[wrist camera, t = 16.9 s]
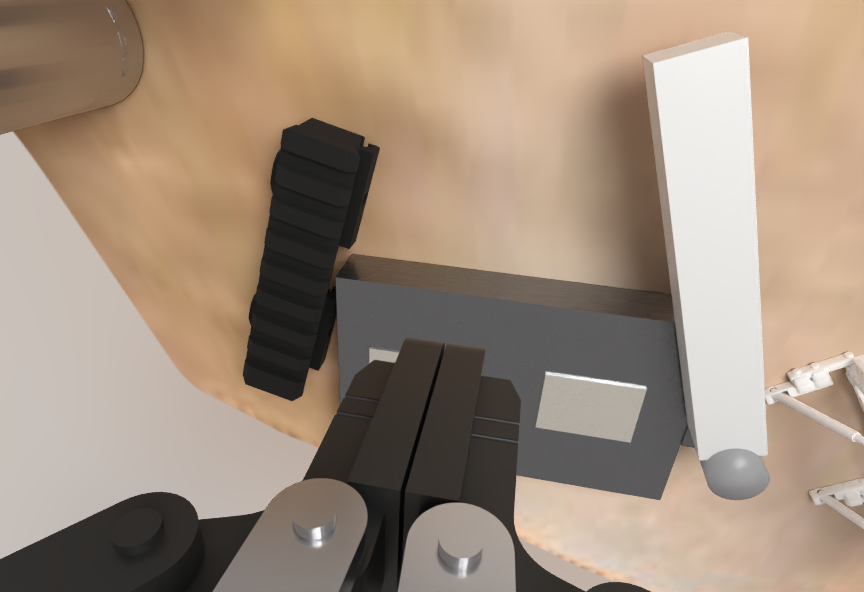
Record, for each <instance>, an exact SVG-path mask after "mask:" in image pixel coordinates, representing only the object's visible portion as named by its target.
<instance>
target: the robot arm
mask: <svg viewBox="0 0 864 592" xmlns="http://www.w3.org/2000/svg"><path fill="white" fill-rule="evenodd" d="M143 57H144V55H143V45H142V39H141V35H140V31H139V28H138V24H137V22H136V20H135V18H134V15H133V13H132V11H131V9H130V7H129V6H128V4H127V3H126V1H125V0H0V135H1V134H5V133H8V132H12V131H16V130H19V129H23V128H27V127H31V126H34V125H38V124H42V123H45V122H49V121H53V120H57V119H60V118H64V117H68V116H72V115H76V114H80V113H83V112H87V111H91V110H94V109H98V108H102V107H105V106H109V105H113V104H115V103H117V102H120V101H122V100H124V99H125V98H126V97H127V96H128V95H130V94H131V93H132V92H133V90H134V88H135V87H136V85H137V84H138V82H139V79H140V76H141V73H142V68H143ZM485 352H486V349H484V348H477V347H470V346H464V345H457V344H450V343H447V345H446V348H445V343H442V342H435V341H428V340H421V339H414V338H407V337H406V338H405V340H404V342H403V345H402V347H401V350H400V352H399V354H398V357H397V359H396V362H395V363H393V362H387V361H380V360H373V361H372V362H371V363H369V364H368V365H367V366H366V367H364V368H363V369H362V370H360V371H359V372H358V373H357V374H355V376H354V378H353V380H352V382H351V384H350V386H349V388H348V390H347V392H346V394H345V398H343V400H342V402H341V404H340V406H339V408H338V410H337V415H335V416H334V418H333V420H332V422H331V424H330V426H329V429H328V431H327V433H326V435H325V437H324V439H323V441H322V443H321V445H320V447H319V449H318V451H317V453H316V455H315V457H314V459H313V461H312V463H311V465H310V467H309V469H308V471H307V473H306V475H305V477H304V479H303V480H302V481H301V482H298V483H295V484H293V485H291V486H289V487H287V488H285V489H284V490H283V491H281V492H280V493H279V494H277V496H276V497H274V498H273V499H272V501H271V502H270V503H269V504H268V506H267V507H266V509H265V510H263V511H260V512H256V513H253V514H247V515H241V516H231V517H223V518H211V519H201V520H198V516H197V512H196V510H195V508H194V507H193V505H192V504H191V503H190V502H189V501H188V500H186V499H185V498H183V497H181V496H179V495H177V494H172V493H166V492H152V493H146V494H141V495H137V496H134V497H131V498H129V499H126V500H124V501H121V502H119V503H117V504H115V505H113V506H111V507H109V508H107V509H105V510H103V511H100V512H98V513H96V514H94V515H92V516H90V517H88V518H86V519H84V520H82V521H79V522H78V523H75V524H73V525H71V526H69V527H67V528H65V529H63V530H61V531H58V532H56V533H54V534H52V535H50V536H48V537H46V538H44V539H42V540H40V541H38V542H35V543H33V544H31V545H29V546H27V547H25V548H23V549H21V550H19V551H16V552H14V553H12V554H10V555H8V556H6V557H4V558H2V559H0V592H585V591H583V590H581V589H579V588H577V587H576V586H574V585H572V584H570V583H567V582H566V581H564V580H562V579H560V578H558V577H556V576H555V575H553V574H551V573H550V572H548V571H546V570H545V569H544V568H542V567H541V566H540V565H538V564H537V563H536V562H535V561H534V560H533V559H532V558H531V557H530V556H529V554H528V553H527V552H526V551H525V549H524V548H523V546H522V545H521V543H520V541H519V539H518V536H517V534H516V531H515V526H514V502H515V487H516V471H517V456H518V440H519V423H520V409H521V399H520V397H519V395H518V394H517V392H516V390H515V388H514V386H513V384H512V382H511V380H507V379H500V378H493V377H487V376H483V369H484V361H485ZM586 592H650V591H648V590H646V589H644V588H641V587H639V586H636V585H632V584H629V583H622V582H608V583H603V584H600V585H597V586H594V587H592V588H591V589H589V590H588V591H586Z"/></svg>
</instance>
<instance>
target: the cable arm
mask: <svg viewBox="0 0 864 592" xmlns="http://www.w3.org/2000/svg"><path fill="white" fill-rule="evenodd" d="M642 58H643V66H644V74H645V83H646V91H647V99H648V107H649V115H650V123H651V131H652V139H653V147H654V155H655V164H656V172H657V180H658V188H659V196H660V204H661V212H662V220H663V228H664V237H665V245H666V253H667V261H668V269H669V277H670V285H671V293H672V301H673V309H674V318H675V326H676V334H677V342H678V350H679V358H680V366H681V374H682V382H683V391H684V399H685V407H686V415H687V423H688V427H689V430H690V433H691V436H692V439H693V443H694V446H695V449H696V452H697V455H698V458H699V461H700V462H701V465H702V468H703V471H704V475H705V478H706V481H707V484H708V486H709V488H710V490H711V491H712V492H713V493H714V494H716V495H718V496H720V497H722V498H725V499H730V500H744V499H748V498H752V497H754V496H756V495H758V494H760V493H761V492H762V491H764V490H765V488H766V487H767V486H768V483H769V473H768V471H767V469H766V466H765V464H764V462H763V460H762V458H761V456H763V455H768V452H767V431H766V409H765V388H764V367H763V346H762V324H761V303H760V282H759V260H758V239H757V218H756V196H755V175H754V154H753V132H752V111H751V90H750V68H749V47H748V37H745V36H742V35H738V34H734V33H730V32H723V33H720V34H716V35H713V36H709V37H706V38H702V39H698V40H695V41H691V42H688V43H684V44H681V45H677V46H674V47H670V48H666V49H663V50H659V51H656V52H652V53H649V54H645V55H642Z"/></svg>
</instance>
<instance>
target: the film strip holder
mask: <svg viewBox="0 0 864 592" xmlns="http://www.w3.org/2000/svg"><path fill="white" fill-rule="evenodd" d="M843 367H845V368H846V371H847V372H846V376H847V378H848V381H849V382H850V383H851V384H852V385H853V388H854V390H855V393H856V395H857V398H858V400H859V403H860V405H861V408H862V410H863V413H864V354H863V355H860V356H857V357H854V355H853V353H851V352H846V353H844V354H841V355H838V356H835V357H832V358H829V359H826V360H823V361H820V362H817V363H811V364H810V365H807V366H804V367H801V368H796V369H793V370H792V371H789V372H787V375H788V377H789V379H790V381H788V382H785V383H781V384H778V385H775V386H772V387H769V388H766V389H765V401H766V402H767V404H768V405H770V404H773V403H776V402H781V403H783V404H785V405H787V406H789V407H790V408H792V409H794V410H796V411H798V412H800V413H801V414H803V415H805V416H807V417H809V418H811V419H812V420H814V421H816V422H818V423H820V424H822V425H823V426H825V427H827V428H829V429H831V430H833V431H835V432H836V433H838V434H840V435H842V436H844V437H846V438H847V439H849V440H851V441H853V442H858V443H860V444H862V445H863V446H864V436H862V435H861V433H859V432H857V431H855V430H853V429H852V428H850V427H848V426H846V425H844V424H842V423H840V422H838V421H836V420H834V419H832V418H830V417H829V416H827V415H825V414H823V413H821V412H819V411H817V410H815V409H813V408H811V407H809V406H807V405H805V404H804V403H802V402H800V401H798V400H796V399H794V398H793V397H796V396H799V395H802V394H806V393H809V392H812V391H815V390H819V389H822V388H825V387H828V386H832V385H833V381H832V379H831V376H830V375H829V373H828V372H831V371H834V370H837V369H840V368H843ZM772 388H773V389H772ZM770 389H771V392H770ZM783 391H785V392H783ZM771 395H772V396H771ZM774 399H775V400H774ZM818 490H823V491H819V492H818V493H817V491H818ZM809 494H810V496H811V498H812V500H813V502H814V504H815V505H820V504H824V503H826V504H828V505H829V506H831V507H832V508H833V509H835V510H836V511H838V512H839V513H841V514H842V515H844V516H845V517H846V518H848V519H849V520H851V521H852V522H854V523H855V524H857V525H858V526H859V527H861V528H862V529H864V518H863V517H861V516H860V515H858V514H857V513H855V512H854V511H852V510H851V509H849V508H848V507H846V506H845V505H843V504H842V503H840V502H839V501H837V500H842V499H843V500H844V502H845V504H846V505H847V506H851V507H853V506H858V505H862V503H863V502H864V478H860V479H856V480H851V481H847V482H843V483H839V484H835V485H831V486H827V487H823V488H819V489H815V490H810V491H809ZM821 500H822V501H821Z"/></svg>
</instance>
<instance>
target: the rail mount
mask: <svg viewBox="0 0 864 592" xmlns="http://www.w3.org/2000/svg"><path fill="white" fill-rule="evenodd" d="M364 139H365V137H363V136H360V135H358V134H355V133H352V132H349V131H347V130H344V129H341V128H338V127H336V126H333V125H330V124H327V123H325V122H322V121H319V120H316V119H314V118H311V119H309V120H307V121H306V122H304V123H302V124H300V125H295V126H292V127H289V128H286V129H284V130H283V132H282V139H281V149H280V151H279V152H278V153H277V155H276V158H275V161H274V163H273V169H272V175H271V182H270V183H271V189H272V193H273V196H272V200H271V206H270V217H269V223H268V228H267V230H266V236H265V242H264V243H265V247H264V253H263V257H262V261H261V267H260V277H259V283H258V286H257V291H256V294H255V295H254V297H253V300H252V302H251V307H250V313H249V320H250V324H251V332H250V336H249V340H248V346H247V348H248V350H247V356H246V359H245V364H244V370H243V377H244V381H245V384H247V385H249V386H252V387H255V388H258V389H260V390H263V391H266V392H268V393H271V394H274V395H277V396H279V397H282V398H285V399H288V400H290V401H293V400H295V399H297V398H299V397H301V396H302V394H303V390H304V386H305V382H306V378H307V374H308V370H309V368H312V369H315V370H317V371H319V369H320V367H321V365H322V364H323V362H324V360H325V357H326V353H327V349H328V345H329V342H330V338H331V334H332V330H333V326H334V322H335V319H336V315H337V301H336V287H335V286H333V290H332V291H331V292H327V291H328V287H329V283H330V279H331V275H332V271H333V267H334V263H335V259H336V254H337V250H338V246H339V245H340V246H343V247H345V248H348V249H350V248H351V246H352V245H353V244H354V242H355V241H356V238H357V234H358V230H359V226H360V222H361V219H362V215H363V211H364V207H365V203H366V199H367V195H368V192H369V188H370V184H371V180H372V176H373V172H374V169H375V165H376V161H377V157H378V153H379V149H380V148H379V147H378V146H375V145H372V144H368V147H363V143H364Z"/></svg>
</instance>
